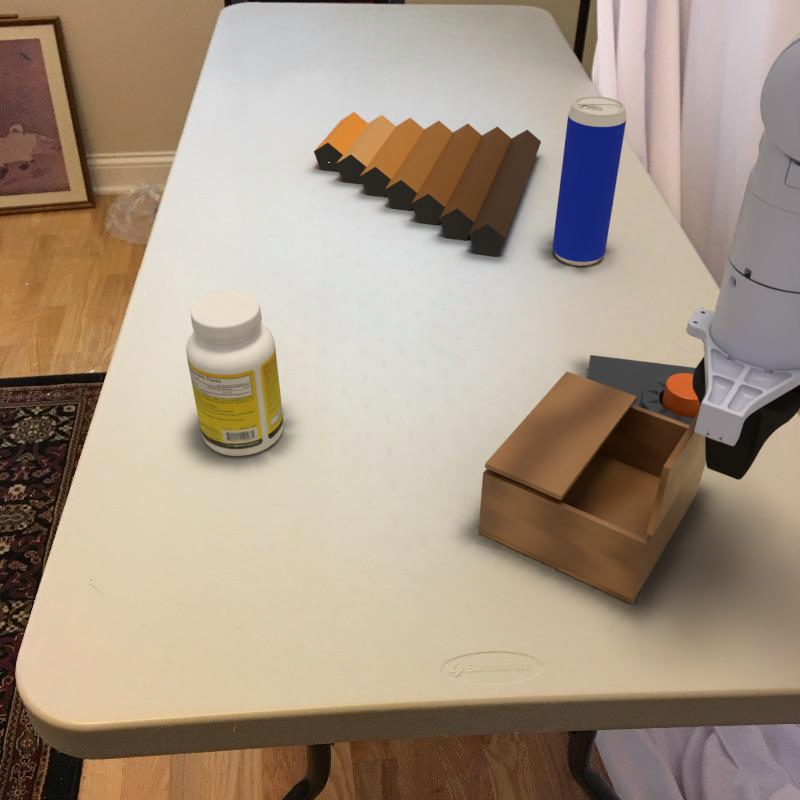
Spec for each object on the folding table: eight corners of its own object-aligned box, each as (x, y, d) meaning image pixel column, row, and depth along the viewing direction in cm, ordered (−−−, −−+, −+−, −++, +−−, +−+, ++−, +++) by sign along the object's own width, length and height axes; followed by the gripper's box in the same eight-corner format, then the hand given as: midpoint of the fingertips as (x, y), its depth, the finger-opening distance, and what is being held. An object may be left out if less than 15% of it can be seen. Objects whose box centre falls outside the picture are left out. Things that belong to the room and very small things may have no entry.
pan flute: (503, 257, 89) (539, 158, 108) (506, 226, 87) (542, 131, 106) (266, 226, 94) (341, 136, 113) (264, 195, 92) (340, 110, 111)
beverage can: (604, 244, 91) (627, 97, 82) (604, 270, 87) (628, 117, 78) (552, 240, 92) (570, 93, 83) (550, 265, 88) (568, 113, 79)
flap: (712, 425, 59) (718, 427, 59) (645, 533, 52) (652, 536, 52) (732, 360, 56) (738, 362, 56) (663, 465, 48) (670, 468, 48)
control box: (714, 383, 73) (722, 352, 71) (721, 464, 65) (731, 432, 64) (588, 367, 75) (593, 337, 73) (581, 445, 67) (586, 413, 65)
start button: (705, 394, 68) (710, 375, 67) (707, 421, 65) (713, 402, 64) (661, 389, 68) (666, 370, 67) (662, 415, 66) (666, 396, 65)
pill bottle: (252, 396, 72) (237, 274, 65) (300, 433, 68) (290, 308, 61) (185, 430, 68) (161, 305, 62) (231, 471, 65) (212, 343, 58)
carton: (697, 493, 63) (716, 424, 59) (631, 604, 55) (649, 533, 52) (556, 437, 68) (566, 370, 64) (477, 532, 60) (483, 463, 56)
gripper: (751, 192, 51) (701, 383, 60) (657, 305, 42) (614, 513, 50) (883, 224, 48) (811, 420, 57) (814, 354, 39) (740, 567, 47)
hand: (726, 467), depth 53 cm, fingers closed
